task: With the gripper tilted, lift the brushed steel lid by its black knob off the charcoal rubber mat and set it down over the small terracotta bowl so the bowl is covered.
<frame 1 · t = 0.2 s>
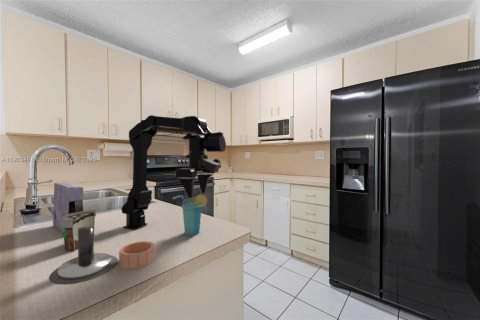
hand: (197, 195, 77), 15 cm above the countertop, tool pointing down, fingers open, 9 cm apart
food container: (74, 246, 68), on the countertop
steel lid: (86, 267, 54), resting on rubber mat
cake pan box: (67, 230, 83), on the countertop
cup: (189, 234, 79), on the countertop
terracotta bowl: (137, 262, 58), on the countertop
rubber mat: (86, 269, 54), on the countertop
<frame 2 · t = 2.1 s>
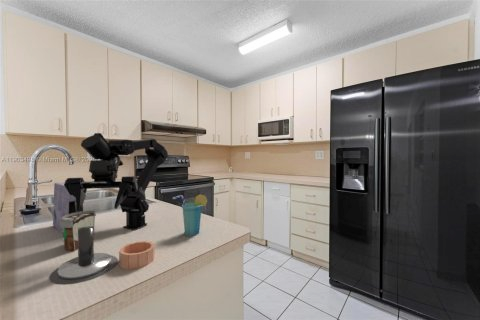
hand: (97, 209, 61), 13 cm above the countertop, tool tilted 45°, fingers open, 9 cm apart
nothing on the countertop moved.
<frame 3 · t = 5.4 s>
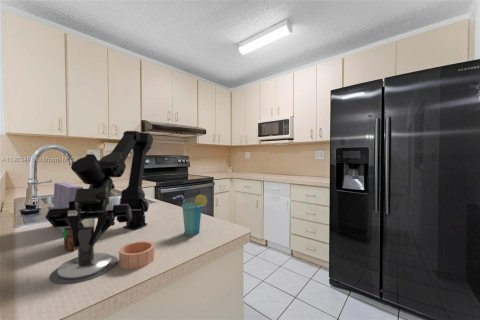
hand: (83, 246, 53), 7 cm above the countertop, tool tilted 45°, fingers closed on steel lid, 3 cm apart
steel lid: (86, 267, 54), resting on rubber mat, touching gripper
everything else where it was.
when the fingers open (11 cm above the countertop, at t = 8.7 s): steel lid drops 1 cm, resting on terracotta bowl.
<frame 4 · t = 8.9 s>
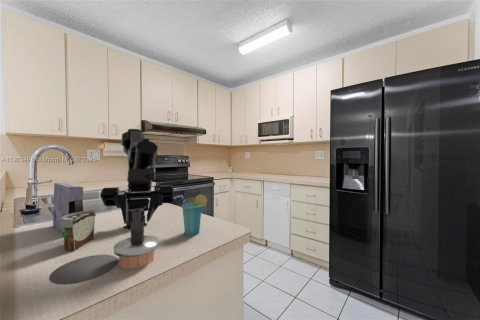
hand: (136, 222, 56), 11 cm above the countertop, tool tilted 45°, fingers open, 5 cm apart
steel lid: (137, 247, 58), point 4 cm above the countertop, touching terracotta bowl
everything else where it was.
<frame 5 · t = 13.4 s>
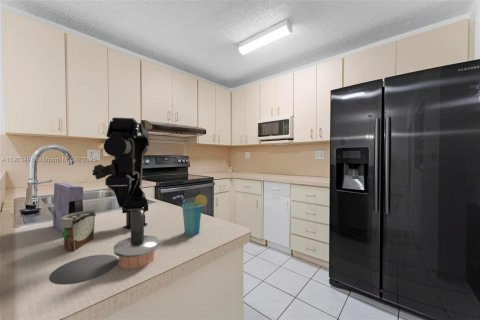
hand: (124, 203, 70), 13 cm above the countertop, tool pointing down, fingers open, 9 cm apart
nothing on the countertop moved.
at the end: steel lid 0.1 cm off-centre on the terracotta bowl, point 4.0 cm above the terracotta bowl's base; steel lid tilted 0°; the gripper is holding nothing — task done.
